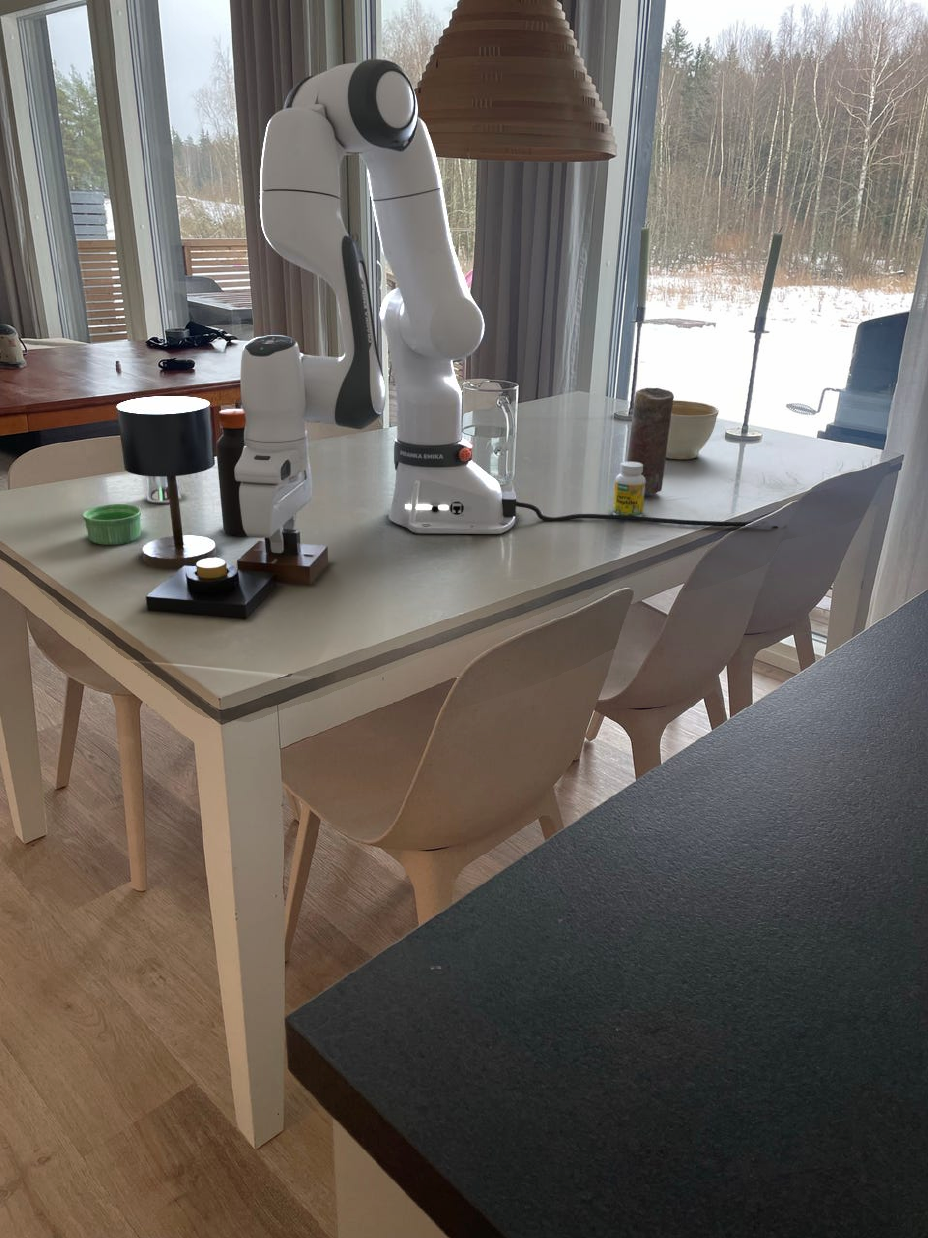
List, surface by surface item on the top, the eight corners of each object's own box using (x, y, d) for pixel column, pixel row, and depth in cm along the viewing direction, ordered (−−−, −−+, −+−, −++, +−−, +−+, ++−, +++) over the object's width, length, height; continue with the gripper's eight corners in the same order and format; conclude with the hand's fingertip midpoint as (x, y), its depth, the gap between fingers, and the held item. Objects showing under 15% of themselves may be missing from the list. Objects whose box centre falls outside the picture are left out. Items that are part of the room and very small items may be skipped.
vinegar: (270, 532, 156) (262, 413, 148) (231, 539, 153) (220, 417, 145) (256, 521, 161) (247, 405, 153) (218, 527, 158) (207, 409, 150)
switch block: (277, 586, 134) (275, 560, 133) (246, 620, 123) (244, 592, 122) (185, 579, 136) (182, 553, 135) (147, 611, 125) (143, 583, 124)
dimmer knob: (301, 552, 139) (299, 528, 137) (297, 555, 138) (296, 531, 136) (269, 549, 140) (267, 526, 138) (265, 553, 138) (263, 529, 137)
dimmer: (328, 564, 143) (327, 544, 142) (310, 585, 135) (309, 565, 134) (260, 558, 145) (259, 539, 143) (238, 579, 136) (236, 559, 135)
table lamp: (235, 545, 150) (223, 398, 140) (202, 574, 138) (186, 415, 129) (160, 539, 152) (142, 394, 142) (120, 567, 140) (99, 410, 130)
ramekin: (89, 549, 147) (85, 523, 145) (83, 532, 154) (80, 507, 152) (147, 542, 150) (144, 516, 149) (140, 526, 158) (137, 501, 156)
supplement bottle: (643, 513, 171) (649, 461, 167) (640, 521, 166) (645, 469, 162) (614, 510, 172) (619, 459, 168) (609, 518, 167) (614, 466, 163)
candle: (666, 492, 184) (678, 389, 176) (657, 501, 178) (668, 395, 169) (628, 486, 187) (638, 385, 178) (618, 496, 180) (628, 391, 172)
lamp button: (231, 570, 130) (230, 558, 129) (220, 581, 126) (219, 568, 126) (204, 568, 130) (203, 556, 130) (192, 578, 127) (191, 566, 126)
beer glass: (172, 505, 169) (163, 423, 163) (137, 502, 170) (127, 420, 164) (190, 495, 175) (182, 415, 169) (156, 492, 176) (147, 413, 170)
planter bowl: (627, 455, 211) (631, 406, 206) (662, 443, 222) (667, 397, 218) (690, 468, 201) (697, 417, 197) (724, 455, 213) (731, 407, 208)
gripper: (280, 438, 142) (285, 524, 148) (228, 472, 124) (237, 569, 130) (320, 440, 142) (324, 527, 147) (274, 475, 123) (280, 572, 129)
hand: (282, 547), depth 138 cm, fingers closed
